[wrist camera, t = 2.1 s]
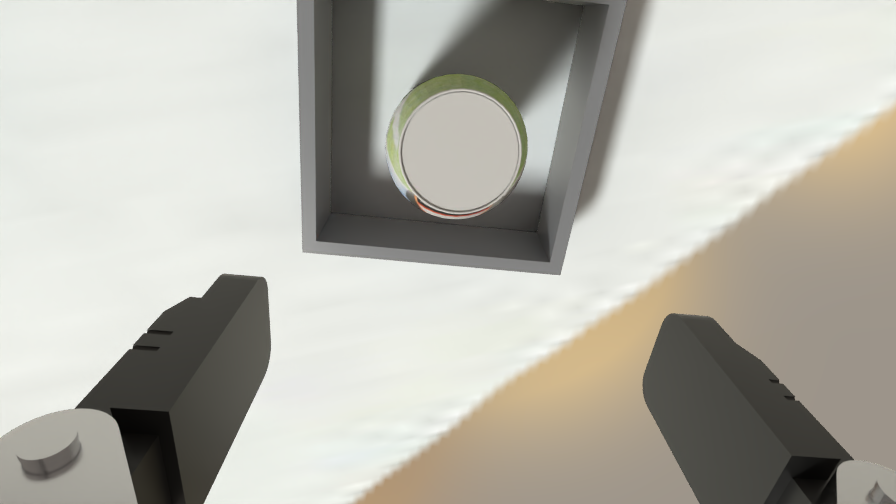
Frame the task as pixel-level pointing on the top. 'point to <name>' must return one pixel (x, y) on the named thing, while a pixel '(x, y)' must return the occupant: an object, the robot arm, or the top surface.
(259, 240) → the top surface
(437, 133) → the beverage can
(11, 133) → the top surface
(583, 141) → the bin
